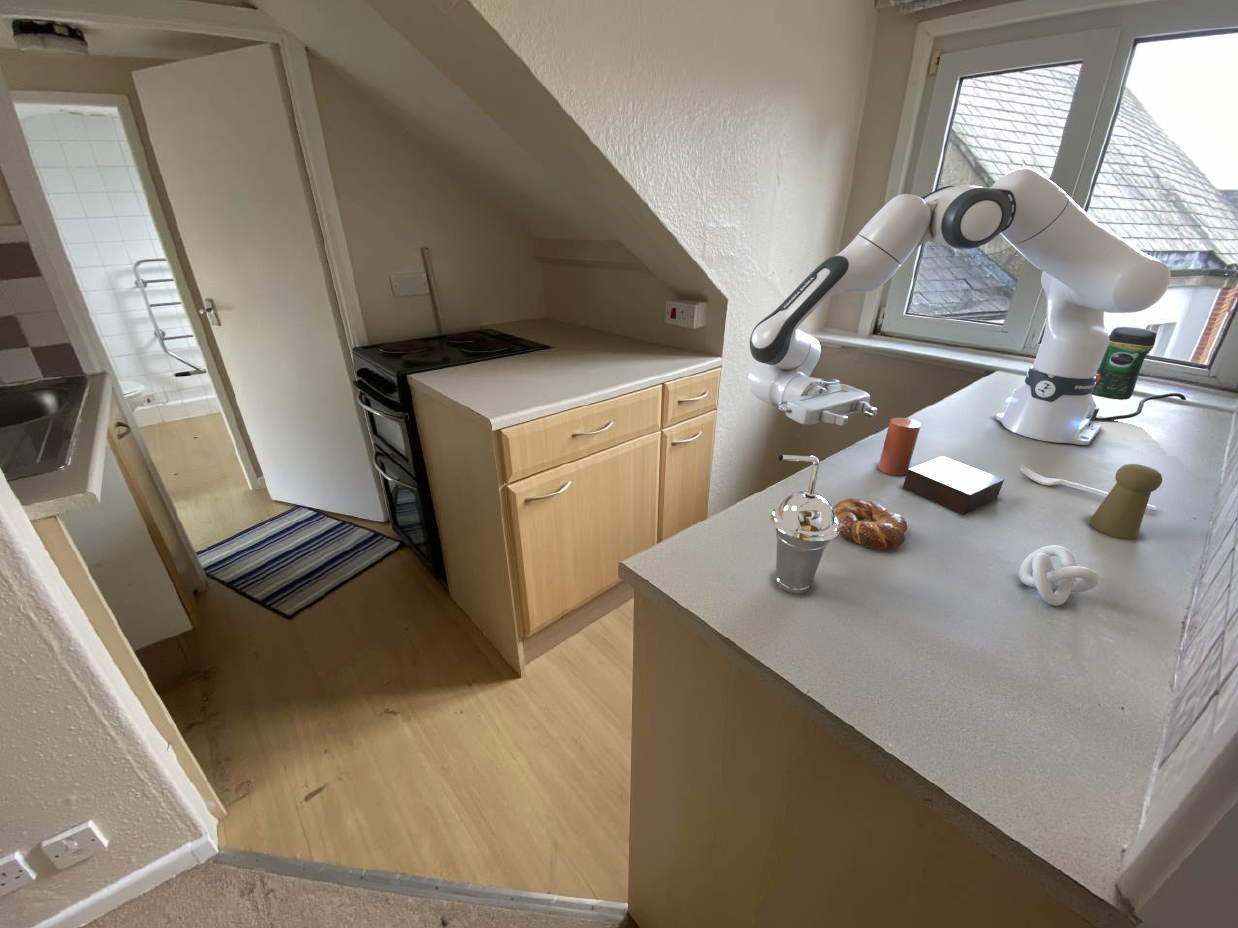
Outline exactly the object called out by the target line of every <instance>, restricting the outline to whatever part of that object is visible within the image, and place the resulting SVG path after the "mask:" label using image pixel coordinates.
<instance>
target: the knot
mask: <svg viewBox="0 0 1238 928" xmlns="http://www.w3.org/2000/svg"><path fill="white" fill-rule="evenodd" d="M1051 557H1059V559H1060V562H1061V567H1059V568H1056V569H1055V567H1054V563H1053V561H1052V558H1051ZM1018 578H1019V581H1020V583H1022V584H1023V585H1025V586H1027V587H1029V588H1036V590H1037V591H1038V594H1039V595H1040V597H1041V598H1042V600H1043V601H1045V602H1046V604H1048V605H1051V606H1055V607H1056V606H1061V605H1063V604H1065V603H1066V602H1067V600H1069V598H1070V595H1071V593H1083V592H1087V591H1091V590H1092V589H1094V588H1096V587H1097V586H1098V585H1099V582H1100V578H1099V575H1098V574H1097V572H1096V571H1094V569H1093V570H1092V569H1091V568H1089V567H1086V566H1079V565H1077V563H1076V558H1075V555H1074V554H1073V553H1072V551H1070V550H1069V549H1068V548H1066V547H1064V546H1062V545H1057V544H1051V545H1045V546H1042V547H1040V548H1038V549H1035V550H1034V551H1032V552H1030V554H1028V556H1026V557H1025V558H1024V559H1023V561H1022V562H1021V564H1020V566H1019V569H1018ZM1076 578H1077V579H1080V580H1075V579H1076ZM1051 586H1052V587H1053V588H1056V589H1055V591H1053V589H1052V587H1051Z"/></svg>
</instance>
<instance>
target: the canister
mask: <svg viewBox="0 0 1238 928" xmlns="http://www.w3.org/2000/svg"><path fill="white" fill-rule="evenodd" d="M921 427H922V424H921V422H919V421H917V420H914V419H912V418H909V417H908V418H907V417H892V418H890V419H889V423H888V427H887V431H886V435H885V439H884V442H883V445H882V446H883V447H882V450H881V455H880V458H879V462H878V464H877V465H878V466H877V468H878V469H879V470H880V471H881V472H882V473H884V474H887V475H891V476H897V477H898V476H900V477H901V476H906V474H907V471H908V469H909V468H910V465H911V461H912V457H913V455H914V451H915V447H916V444H917V440H918V436H919V435H920V434H919V433H920V430H921Z"/></svg>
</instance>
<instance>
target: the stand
mask: <svg viewBox="0 0 1238 928" xmlns="http://www.w3.org/2000/svg"><path fill="white" fill-rule="evenodd" d="M1004 482H1005V479H1004V478H1001V477H999V476H997V475H994V474H991V473H989V472H986V471H983V470H980V469H978V468H975V467H972V466H970V465H967V464H965V463H962V462H960V461H957V460H954V459H952V458H949V457H947V456H943V455H941V456H938V457H936V458H933V459H931V460H927V461H925V462H922V463H920V464H917V465H915V466H912V467H909V468H908V471H907V474H905V477H904V482H903V485H902V489H904V490H905V491H907V492H910V493H912V494H914V495H917V496H918V497H920V498H923V499H925V500H927V501H929V502H932V503H934V504H935V505H936V504H937V506H938V505H939V506H940V507H943V508H944V509H947V510H950V511H952V512H954V513H956V514H958V515H960V516H966V515H967V514H969V513H972V512H973V511H976V510H978V509H980V508H982V507H984V506H985V505H988V504H990V503H992V502H994V501H996V500H998V498H999V495H1000V492H1001V490H1002V488H1003V485H1004Z"/></svg>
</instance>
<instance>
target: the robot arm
mask: <svg viewBox="0 0 1238 928" xmlns="http://www.w3.org/2000/svg"><path fill="white" fill-rule="evenodd" d="M999 235H1001V236H1002V237H1003V238H1004V239H1005V240H1006V241H1007V242H1008V243H1009V244H1010V245H1011V246H1013V248H1015V249H1016V250H1017V251H1018V252H1019V253H1020V254H1021V255H1022V256H1023V257H1024V258H1025V259H1026V260H1027V261H1028V262H1029V263H1030V264H1032V265H1033V266H1034V267H1035V268H1037V269H1038V270H1041V271H1042V273H1041V277H1040V284H1041V287H1042V289H1043V291H1044V294H1045V301H1046V311H1045V312H1046V313H1045V314H1046V315H1045V325H1044V331H1043V332H1044V333H1043V334H1042V335H1043V336H1042V338H1041V342H1040V345H1039V347H1038V351H1037V354H1036V356H1035V359H1034V362H1033V364H1032V365H1031V366H1029V369H1028V371H1027V372H1026V374H1025V379H1024V384H1022V385H1020V386H1018V387H1015V388H1014V390H1013V392H1012V394H1011V397H1006V400H1005V403H1007V406H1006V408H1005V410H1004V412H1002V413H997V414H996V416H995V419H996V421H999V422H1001V424H1002V426H1003V427H1004V428H1006V429H1007V430H1009V431H1011V432H1012V433H1015V434H1018V435H1020V436H1023V437H1027V438H1030V439H1034V440H1037V441H1042V442H1049V443H1058V444H1071V445H1079V446H1089V445H1090V444H1091V442H1093V440H1094V438H1095V437H1096V435H1097V434H1098V433H1099V432H1100V429H1101V425H1100V424H1097V423H1096V422H1094V421H1097V422H1099V421H1102V422H1103V421H1105V422H1106V421H1108V422H1109V421H1117V420H1124V419H1132V418H1135V417H1137V416H1139V415H1140V414H1141V413H1142V411H1143V408H1144V404H1145V403H1146V402H1148V401H1151V400H1158V399H1165V398H1170V397H1177V398H1179V399H1181V400H1182V401H1187V398H1186V396H1185V395H1184V394H1182V393H1178V392H1170V393H1164V394H1158V395H1151V396H1146V397H1144V398H1143V399H1141V400H1140V401H1139V403H1138V407H1137V410H1136V411H1135V412H1133V413H1132V412H1131V413H1128V414H1119V415H1114V416H1105V417H1097V416H1098V413H1099V411H1100V407H1097V404H1096V402H1095V400H1094V398H1093V395H1091V393H1092V392H1093V390H1094V387H1095V385H1096V382H1097V381H1098V380H1099V377H1100V374H1096V373H1097V371H1098V368H1099V366H1100V364H1101V361H1102V359H1103V357H1104V354H1105V352H1106V350H1107V347H1108V345H1109V334H1108V331H1107V330H1106V326H1105V317H1104V316H1105V313H1109V314H1129V313H1138V312H1142V311H1144V310H1147V309H1149V308H1150V307H1152V306H1153V305H1155V304H1156V303H1158V302H1159V301H1160V300H1161V299H1162V297H1164V295H1165V294H1166V292H1167V290H1168V288H1169V286H1170V284H1171V277H1172V276H1171V271H1170V268H1169V266H1167V264H1166V263H1165V262H1162V261H1161V260H1159V259H1157V258H1155V257H1153V256H1151V255H1148V254H1147V253H1146V252H1145V253H1144V252H1143V251H1141V250H1140V249H1139V248H1137V247H1136V246H1134V245H1132V243H1130V242H1128V241H1127V240H1125V239H1124V238H1122V237H1120V236H1119V235H1118V234H1115V232H1113V231H1111V230H1109V229H1107V228H1106V227H1104V226H1102V225H1101V224H1100V223H1098V222H1097V221H1095V219H1093V218H1092V217H1091V216H1090V215H1089V214H1088V213H1087V212H1086V211H1085V210H1083V208H1082V207H1080V205H1079V204H1078V203H1076V201H1075V200H1073V198H1072V197H1070V196H1069V194H1068V193H1066V191H1064V190H1063V189H1062V188H1061V187H1060V186H1059V185H1057V184H1056V183H1055V182H1054V181H1052V180H1050V179H1049V178H1047V177H1046V176H1045V175H1043V174H1041V173H1040V172H1037V170H1034V169H1032V168H1029V167H1028V168H1027V167H1021V168H1016V169H1013V170H1011V171H1009V172H1008V173H1006V174H1004V175H1002V176H1001V177H1000V178H998V179H997V180H996V181H995V182H993V184H992V185H991V186H990V187H985V186H978V185H970V184H964V185H963V184H962V185H947V186H943V187H940V188H938V189H935V190H933V191H931V192H930V193H927V194H926V195H924V196H922V197H920V196H918V195H915V194H911V193H901V194H898V195H895V196H894V197H893V198H891V199H890V200H888V201H887V202H886V204H884V205H883V206H882V208H880V209H879V210H878V211H877V212H876V213H875V214H874V216H873V217H871V218H870V220H868V222H866V224H865V225H864V226H863V227H862V229H861V230H860V231H859V232H858V234H856V236H854V238H853V240H852V241H851V242H850V243H849V244H848V245H847V246H846V247H844V249H842V250H841V251H840V252H839V253H837V254H835V255H834V256H830V257H828V258H827V259H825V260H823V262H821V263H820V264H818V266H817V267H816V268H815V269H814V270H813V271H812V272H810V273H809V274H808V276H807V277H806V278H805V279H804V280H803V281H802V282H801V283H800V284H799V285H798V286H797V287H796V288H795V289H794V290H793V292H791V294H790V295H789V296H787V298H786V299H785V300H784V301H783V302H782V303H781V304H780V305H779V306H778V307H777V308H776V309H774V310H773V311H772V312H771V313H770V314H768V315H767V316H765V317H764V318H763V319H762V320H760V321H759V322H758V323H757V324H756V326H754V328H753V330H752V331H751V333H750V337H749V352H750V354H751V356H752V358H753V359H754V360H755V361H756V362H759V363H757V364H755V365H753V367H752V368H751V369H750V370H749V372H748V375H747V381H746V382H747V387H748V390H749V392H750V393H751V395H752V396H754V397H755V398H756V399H758V400H760V401H762V402H764V403H766V404H768V405H771V406H772V407H777V408H778V410H779V411H782V412H785V416H786V417H787V418H789V419H791V420H793V421H794V422H796V423H798V424H801V425H802V426H813V425H817V424H821V423H825V424H833V425H834V424H835V425H837V426H840V427H842V426H845V425H847V424H848V420H849V417H848V416H851V415H853V414H858V413H863V414H864V416H865V417H868V418H873V417H876V416H877V414H878V407H874V406H872V405H871V404H870V400H871V395H870V394H869V393H868V392H867V391H864V390H862V389H859V388H856V387H855V386H851V385H849V384H844V383H840V382H841V381H840V380H839V379H836V378H817V377H813V376H812V375H813V373H814V371H815V369H816V368H817V366H818V364H819V361H820V360H821V356H822V346H821V343H820V341H819V339H818V338H817V337H816V336H813V335H812V334H810V333H808V332H806V331H804V330H802V329H800V328H799V327H800V326H801V324H802V323H803V322H804V321H805V320H806V319H807V318H808V317H810V316H811V314H812V313H813V312H814V311H815V310H816V309H817V308H818V307H820V305H822V303H823V302H824V301H825V300H827V299H828V298H830V297H833V296H835V295H837V294H843V293H868V292H872V291H875V290H879V288H880V287H882V286H883V285H885V284H886V283H887V282H888V281H890V279H891V278H892V277H893V276H894V275H896V273H897V271H898V270H899V269H900V268H901V267H902V266H903V264H904V263H905V262H906V261H907V260H908V259H909V257H910V256H911V254H912V253H913V252H914V251H915V250H917V249H918V248H919V247H920V246H922V245H923V244H925V243H927V242H933V243H935V244H937V245H940V246H943V247H949V248H955V249H956V250H971V249H975V248H979V247H982V246H984V245H986V244H988V243H990V242H992V240H994V239H995V238H997V236H999Z"/></svg>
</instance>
